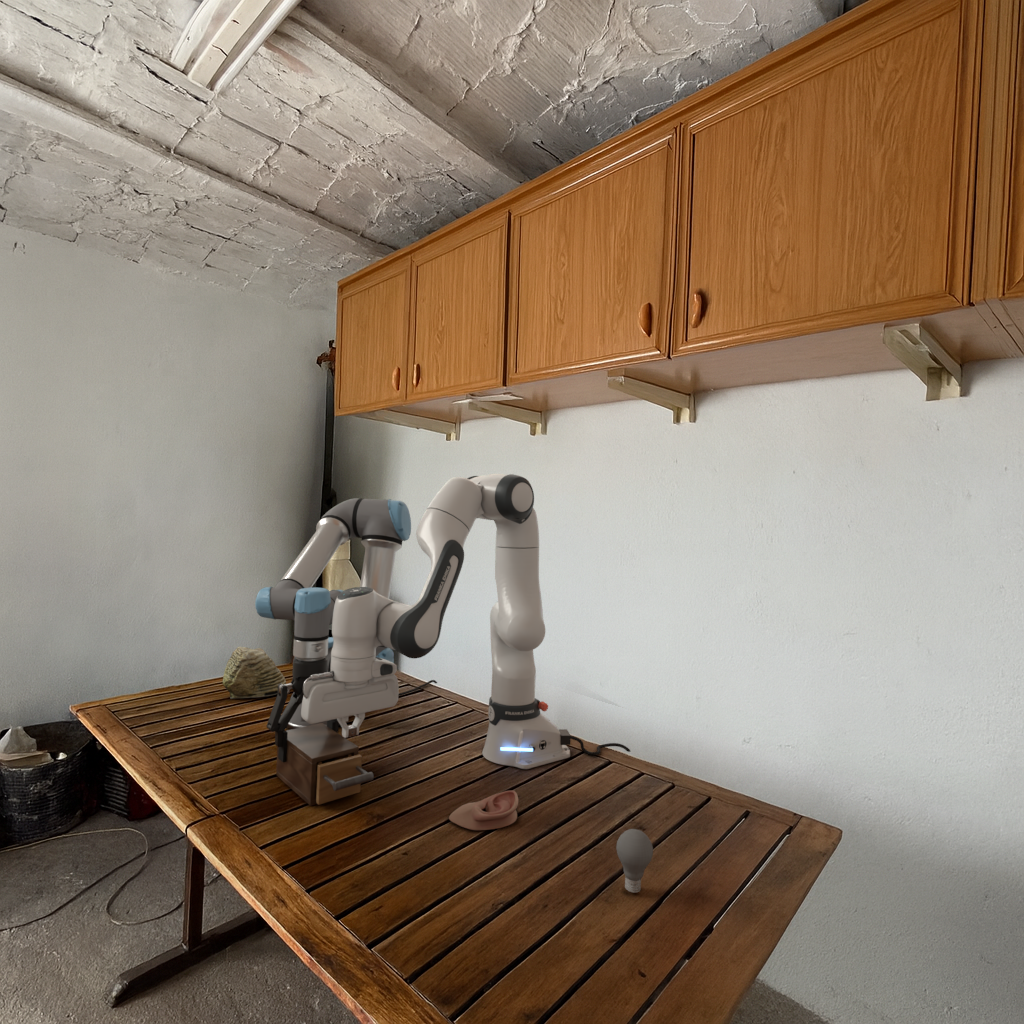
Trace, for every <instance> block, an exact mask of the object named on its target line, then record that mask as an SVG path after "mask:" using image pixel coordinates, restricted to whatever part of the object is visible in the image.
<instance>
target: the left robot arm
mask: <svg viewBox="0 0 1024 1024" xmlns="http://www.w3.org/2000/svg"><path fill="white" fill-rule="evenodd" d="M315 530H316V531H315V532H314V533H313V535H312V536H311V538H310V539H309V540H308V542H307V543H306V545H305V546H304V547H303V548H302V550H301V551H300V553H299V554H298V556H297V557H296V558H295V559H294V561H293V562H292V563H291V565H290V567H289V568H288V569H287V570H286V572H285V574H284V575H283V576H282V578H280V580H279V581H278V582H277V584H276V586H274V587H273V586H265V587H263V588H261V589H259V591H258V592H257V595H256V598H255V603H254V604H255V605H254V606H255V607H254V608H255V611H256V613H257V614H258V615H259V616H260V617H261V618H265V619H271V620H282V621H283V620H284V621H285V620H286V621H294V629H293V630H294V631H293V632H294V634H293V649H292V655H293V657H294V658H293V659H292V679H291V681H290V682H289V683H286V684H282V683H280V684H279V685H278V694H276V698H275V700H274V703H273V706H272V708H271V712H270V715H269V718H268V720H267V723H266V729H268V730H269V731H271V732H272V733H274V734H275V735H274V745H275V747H276V748H277V747H279V751H278V759H280V760H281V761H282V762H286V760H287V735H288V732H287V730H286V728H287V729H288V730H291V729H296V728H301V727H305V726H310V725H315V724H319V723H323V724H324V725H326V726H327V727H329V728H331V729H332V730H334V731H335V732H337V733H338V734H339V726H341V725H340V724H339V722H338V720H337V719H333V720H329V721H324V722H319V723H315V724H309V723H308V722H306V721H305V720H304V719H303V718H302V717H301V707H302V701H303V696H304V695H303V684H304V682H305V681H306V679H308V678H309V677H310V676H311V675H313V674H321V673H325V672H330V668H331V651H332V648H333V642H334V641H333V636H331V637H330V636H329V635H330V634H329V633H330V625H332V620H333V611H334V605H335V601H336V598H337V596H338V595H339V594H340V593H341V592H343V591H344V589H332V590H329V589H328V588H326V587H314V585H315V584H316V582H317V580H318V579H319V577H320V576H321V574H322V573H323V571H324V569H325V568H326V567H327V565H328V564H329V562H330V561H331V559H332V558H333V557H334V555H335V554H336V552H337V550H338V549H339V547H340V546H342V545H344V544H346V543H347V542H348V540H349V539H352V538H354V539H355V538H358V539H361V540H360V543H361V545H362V546H363V547H364V549H365V550H364V551H365V552H364V556H363V562H362V563H363V564H362V571H361V577H360V583H359V584H360V585H359V587H369V588H372V589H374V591H375V592H376V593H378V594H380V595H381V596H383V597H385V598H388V599H390V595H391V589H392V581H393V574H394V568H395V567H394V566H395V560H396V553H397V552H398V551H399V550H401V549H402V547H403V542H406V541H408V540H410V536H411V533H412V518H411V513H410V510H409V507H408V505H407V503H406V502H404V501H402V500H396V499H391V498H388V499H386V498H385V499H383V498H381V499H378V498H361V497H358V498H357V497H354V498H350V499H347V500H344V501H342V502H340V503H338V504H336V505H335V506H333V507H332V508H330V509H329V510H328V511H326V512H325V514H323V515H322V516H321V518H320V519H319V521H318V522H317V523H316V527H315ZM394 656H395V652H394V650H393V649H390V648H387V647H385V646H378V647H377V648H376V657H379V658H382V659H385V660H388V661H390V662H392V663H394V664H395V658H394ZM310 680H311V679H310ZM308 681H309V680H308ZM432 683H434V684H438V681H436V680H435V679H431V680H428V681H427V682H426V683H425V682H424V683H423V684H421V685H418V686H416V687H414V688H412V689H409V690H406V691H403V692H399V697H400V696H403V695H406V694H409V693H412V692H415V691H417V690H419V689H422V688H423V687H426V686H428V685H429V684H432ZM291 690H292V691H293V693H292V694H291V696H290V699H289V700H288V703H287V705H286V701H287V699H288V695H289V694H290V691H291ZM285 705H286V706H285Z"/></svg>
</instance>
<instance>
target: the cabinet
mask: <svg viewBox="0 0 1024 1024" xmlns="http://www.w3.org/2000/svg"><path fill="white" fill-rule="evenodd" d="M286 731H287V732H288V735H287V760H286V762H282V761H281V760H280V759H278V751H279V747H277V746H276V769H275V770H276V771H275V773H276V777H278V778H279V779H280V780H281V781H282V782H283V783H284V784H285V785H286V786H287V787H289V789H291V790H292V791H293V792H294V793H295V794H297V795H298V796H299V797H300V798H301V799H302V800H303V801H304V802H305V803H306V804H307V805H308V806H315V805H318V804H317V803H316V795H315V793H316V767H317V762H320V761H324V760H328V759H331V758H335V757H339V756H343V755H347V754H351V756H355V755H358V754H359V750H360V748H359V745H357V744H356V743H354V742H352V741H350V740H349V739H348V738H345V737H343V736H342V734H340V733H339V732H338V733H337V732H335V731H334V730H332V729H331V728H329V727H327V726H326V725H324V724H323V723H319V724H315V725H310V726H305V727H301V728H296V729H287V730H286ZM359 755H360V754H359Z"/></svg>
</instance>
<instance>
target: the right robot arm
mask: <svg viewBox="0 0 1024 1024" xmlns="http://www.w3.org/2000/svg"><path fill="white" fill-rule="evenodd" d="M534 505H535V493H534V489H533V486H532V485H531V483H530V481H529V480H528V479H527V478H525V477H523V476H521V475H517V474H514V473H512V474H511V473H510V474H505V473H490V474H484V475H473V476H469V477H462V476H454V477H451V478H449V479H448V480H446V482H445V483H444V484H443V486H441V488H439V490H438V491H437V493H436V494H435V495H434V497H433V498H432V499H431V501H430V503H429V505H428V506H427V507H426V510H425V511H424V513H423V514H422V516H421V518H420V521H419V522H418V526H417V528H416V533H415V535H416V540H417V543H418V545H419V547H420V549H421V550H422V551H423V553H425V555H426V556H428V557H429V560H430V569H429V573H428V576H427V577H426V580H425V583H424V585H423V588H422V589H421V592H420V595H419V597H418V599H417V600H416V602H414V603H413V604H407V603H404V602H400V601H397V600H393V599H390V598H389V599H388V598H385V597H383V596H381V595H380V594H378V593H376V592H375V591H374V589H372V588H369V587H360V586H357V587H350V588H347V589H345V590H344V589H343V592H341V593H340V594H339V595H338V596H337V598H336V601H335V605H334V611H333V620H332V624H331V635H332V636H331V637H333V641H334V642H333V648H332V651H331V668H330V672H325V673H321V674H313V675H311V676H310V677H309V678H308V679H306V681H305V682H304V684H303V695H304V696H303V701H302V707H301V717H302V718H303V719H304V720H305V721H306V722H308V723H309V724H315V723H319V722H324V721H329V720H333V719H337V720H338V722H339V724H340V725H339V726H340V727H341V736H343V737H344V738H346V739H348V738H351V737H356V736H359V734H360V727H361V725H362V724H363V722H364V720H365V718H366V713H369V712H375V711H380V710H384V709H389V708H393V707H395V706H396V705H397V703H398V702H399V697H400V696H399V693H400V692H399V689H400V687H399V679H398V677H397V675H396V673H397V671H398V665H397V664H396V663H395V662H394V663H392V662H390V661H388V660H385V659H382V658H379V657H376V648H377V647H378V646H385V647H387V648H390V649H391V650H392V651H396V652H397V653H399V654H401V655H403V656H405V657H406V658H409V659H421V658H423V657H425V656H426V655H428V654H429V653H431V651H433V650H434V648H435V647H436V645H437V644H438V641H439V640H440V636H441V632H442V626H443V621H444V616H445V613H446V610H447V609H448V605H449V603H450V601H451V597H452V595H453V593H454V590H455V587H456V584H457V582H458V580H459V577H460V574H461V571H462V568H463V564H464V561H465V551H464V547H465V542H466V540H467V539H468V536H469V534H470V532H471V530H472V528H473V526H474V524H475V521H476V520H477V519H480V520H486V521H487V520H488V521H494V524H495V527H496V531H495V532H496V533H495V549H494V551H495V554H494V555H495V557H494V558H495V559H494V580H495V585H496V593H497V601H496V602H495V603H494V604H493V605H492V607H491V609H490V613H489V622H490V623H489V624H490V625H489V626H490V652H491V653H490V654H491V690H490V691H491V692H490V697H489V699H488V700H489V701H488V709H487V711H488V713H487V715H488V727H487V732H486V737H485V742H484V745H483V748H482V750H481V751H482V752H481V755H482V756H483V757H484V759H486V761H487V760H488V761H489V762H491V763H494V764H497V765H502V766H508V767H515V768H518V769H521V770H529V769H534V768H537V767H540V766H543V765H547V764H551V763H554V762H558V761H561V760H562V761H563V760H565V759H569V758H570V757H571V750H570V748H569V747H568V746H570V745H571V741H572V740H574V741H576V742H578V743H579V746H580V750H581V751H582V752H583V753H585V754H586V755H589V756H599V755H601V753H602V752H601V751H602V750H601V749H603V748H608V747H617V748H621V749H623V750H625V751H626V752H629V753H630V752H631V749H630V748H629V747H628V746H626V745H624V744H623V743H618V742H610V743H603V744H599V745H597V747H596V751H589V750H588V749H586V748H585V745H584V742H583V740H582V739H581V738H579V737H576V736H574V735H571V734H570V732H569V730H568V729H563V728H562V729H559V727H558V726H557V725H556V724H555V723H554V722H553V721H551V720H550V719H549V718H548V717H547V716H545V715H544V714H543V713H541V711H542V712H546V711H548V709H549V705H548V703H546V702H545V701H540V700H539V699H538V698H536V677H537V673H536V672H537V668H536V664H535V655H534V650H535V649H537V648H538V647H539V646H540V645H541V644H542V643H543V641H544V639H545V637H546V625H545V624H546V623H545V620H544V611H543V602H542V601H543V599H542V592H541V584H540V529H539V521H538V516H537V512H536V510H535V508H534ZM310 679H311V680H310ZM308 680H309V681H308ZM352 716H354V720H353V722H352V724H351V725H348V724H347V722H349V717H352Z"/></svg>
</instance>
